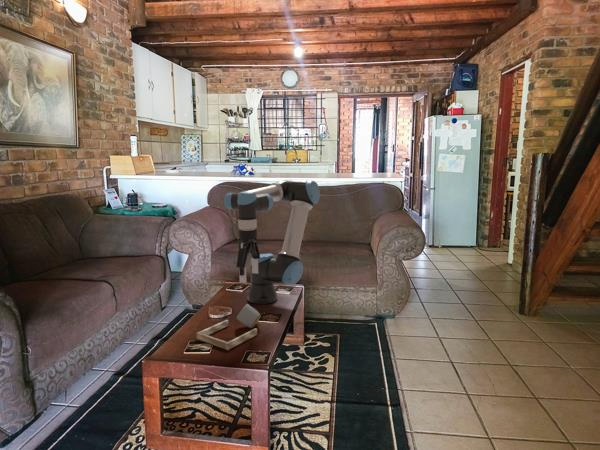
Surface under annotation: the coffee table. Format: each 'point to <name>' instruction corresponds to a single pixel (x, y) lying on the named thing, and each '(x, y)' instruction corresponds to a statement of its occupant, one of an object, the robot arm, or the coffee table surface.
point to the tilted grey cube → (248, 316)
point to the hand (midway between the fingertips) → (249, 277)
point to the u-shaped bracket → (220, 343)
